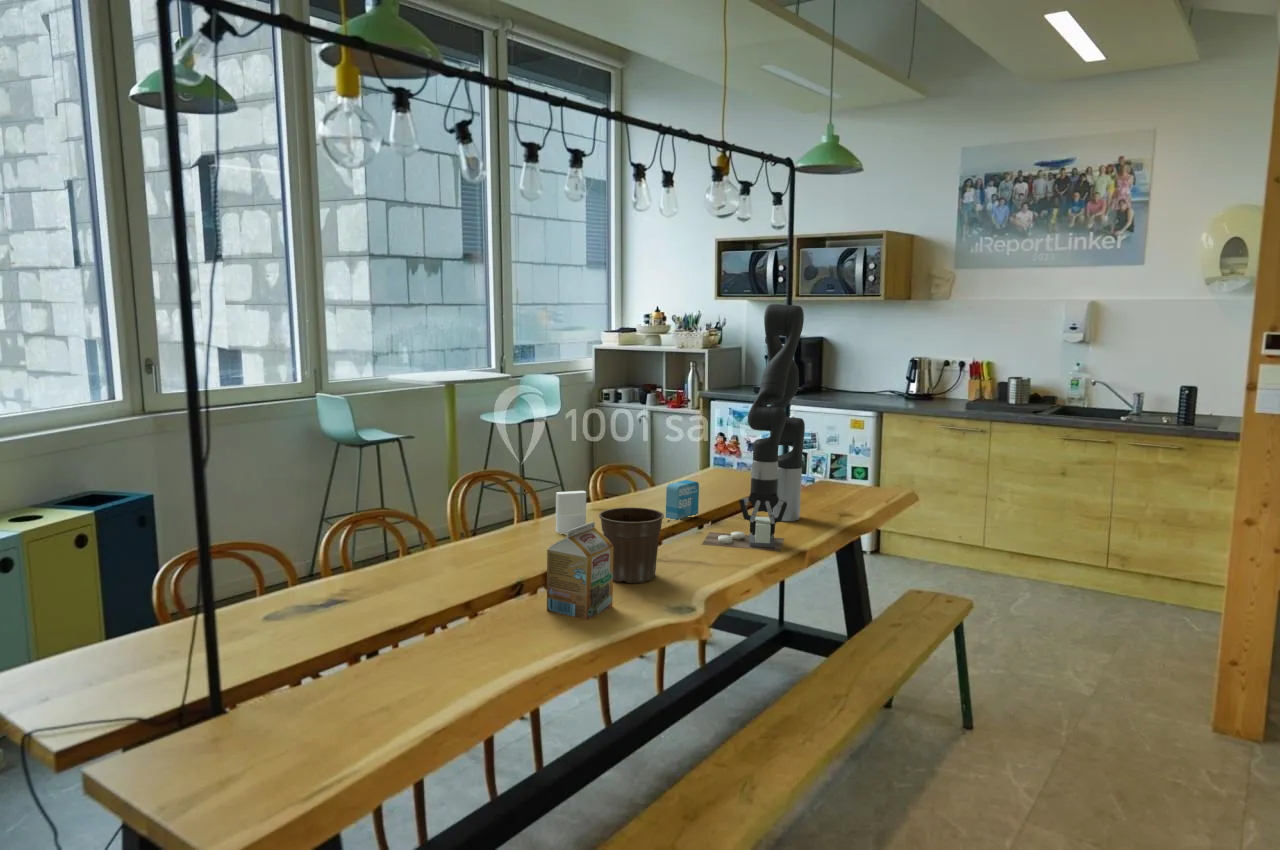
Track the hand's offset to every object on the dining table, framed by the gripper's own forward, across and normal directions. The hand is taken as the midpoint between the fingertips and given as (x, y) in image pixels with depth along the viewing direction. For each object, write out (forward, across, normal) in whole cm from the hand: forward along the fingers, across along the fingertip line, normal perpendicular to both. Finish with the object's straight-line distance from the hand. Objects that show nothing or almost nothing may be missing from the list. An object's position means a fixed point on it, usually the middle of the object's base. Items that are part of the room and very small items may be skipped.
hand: (762, 534), depth 246 cm
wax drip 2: (+2, +7, -2) cm, 8 cm away
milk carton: (+4, +34, +63) cm, 72 cm away
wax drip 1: (+2, +10, +2) cm, 11 cm away
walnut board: (+4, +5, 0) cm, 6 cm away
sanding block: (+2, 0, 0) cm, 2 cm away
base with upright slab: (+4, +57, 0) cm, 57 cm away
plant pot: (+4, +29, +37) cm, 47 cm away
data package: (+4, +28, -26) cm, 39 cm away
